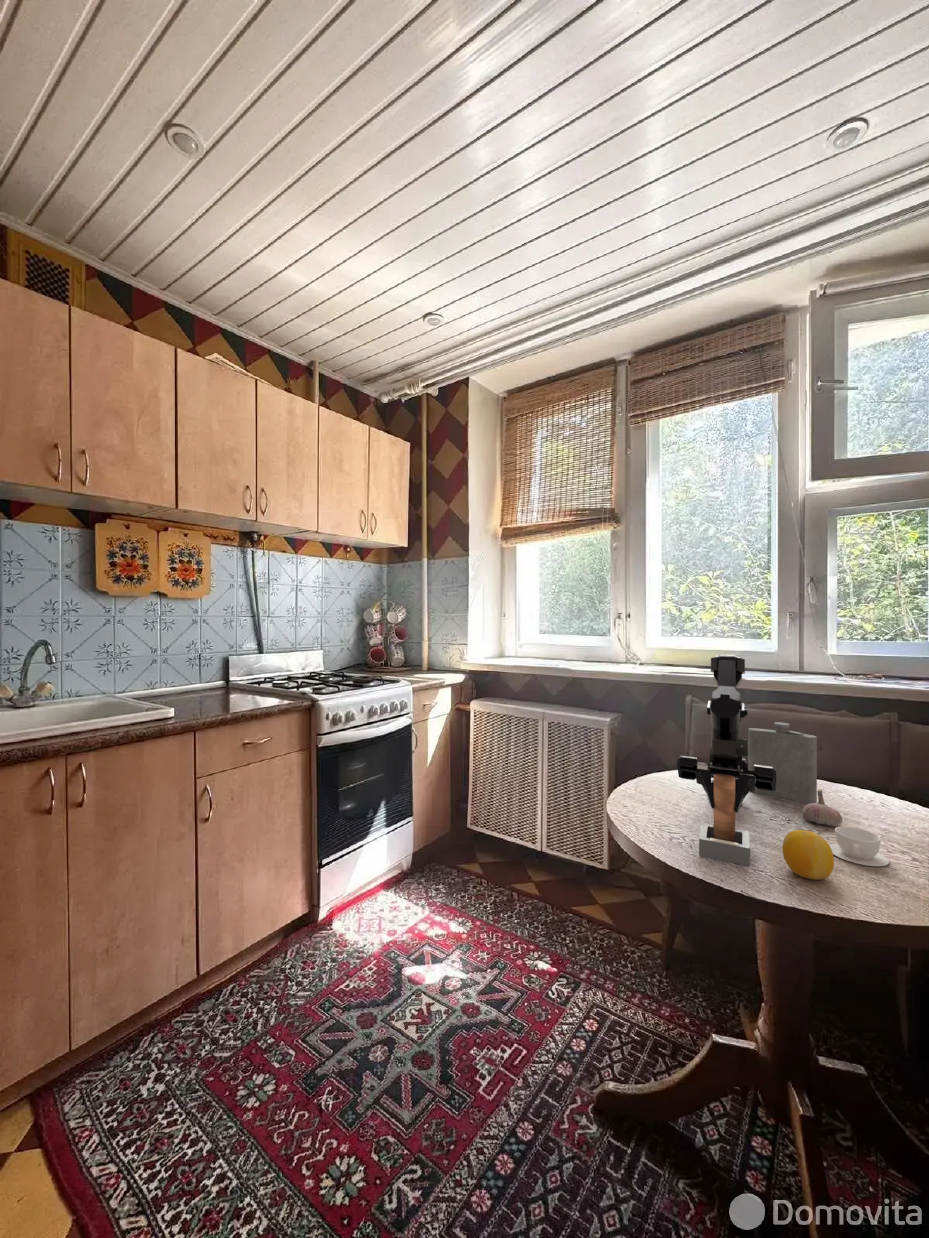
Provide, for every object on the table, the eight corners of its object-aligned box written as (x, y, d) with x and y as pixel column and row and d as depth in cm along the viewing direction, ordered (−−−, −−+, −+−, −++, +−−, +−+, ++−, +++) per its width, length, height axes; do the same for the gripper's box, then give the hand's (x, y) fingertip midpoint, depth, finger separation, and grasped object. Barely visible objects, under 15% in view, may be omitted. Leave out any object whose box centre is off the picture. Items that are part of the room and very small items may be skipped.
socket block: (748, 847, 105) (748, 830, 105) (749, 866, 97) (749, 847, 97) (701, 838, 109) (701, 821, 109) (699, 855, 101) (699, 837, 101)
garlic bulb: (795, 819, 120) (795, 786, 120) (816, 815, 123) (816, 783, 123) (828, 831, 113) (827, 797, 113) (849, 827, 116) (849, 793, 116)
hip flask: (747, 791, 140) (747, 720, 140) (750, 787, 143) (750, 718, 143) (816, 804, 129) (816, 728, 130) (817, 800, 133) (817, 725, 133)
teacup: (829, 841, 109) (829, 819, 109) (889, 855, 102) (889, 832, 102) (825, 857, 101) (825, 834, 101) (889, 874, 94) (889, 849, 94)
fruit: (845, 889, 89) (845, 845, 89) (796, 885, 90) (796, 841, 90) (818, 865, 97) (818, 824, 97) (773, 862, 99) (773, 822, 99)
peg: (730, 835, 105) (730, 774, 105) (738, 843, 101) (738, 780, 101) (710, 834, 105) (710, 773, 105) (718, 842, 101) (717, 779, 101)
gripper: (677, 719, 111) (672, 782, 101) (775, 728, 102) (779, 798, 92) (681, 746, 118) (676, 808, 108) (773, 757, 109) (776, 825, 99)
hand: (724, 809), depth 102 cm, fingers closed on peg, 4 cm apart
